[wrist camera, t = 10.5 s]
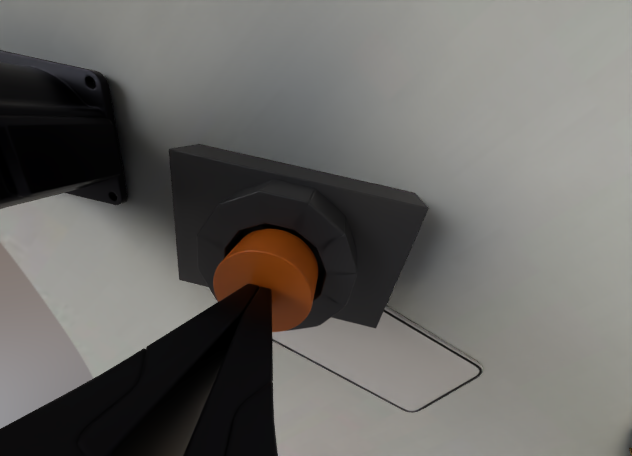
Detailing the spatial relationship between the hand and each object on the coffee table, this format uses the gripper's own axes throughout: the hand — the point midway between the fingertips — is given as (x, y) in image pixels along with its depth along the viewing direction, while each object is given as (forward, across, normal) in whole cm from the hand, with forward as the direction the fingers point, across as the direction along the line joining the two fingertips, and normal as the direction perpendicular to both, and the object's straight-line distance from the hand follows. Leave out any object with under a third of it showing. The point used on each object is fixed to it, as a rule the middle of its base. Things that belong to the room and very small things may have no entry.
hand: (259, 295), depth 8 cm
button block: (+6, 0, 0) cm, 6 cm away
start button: (+2, 0, 0) cm, 2 cm away
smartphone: (+6, -6, +8) cm, 11 cm away
